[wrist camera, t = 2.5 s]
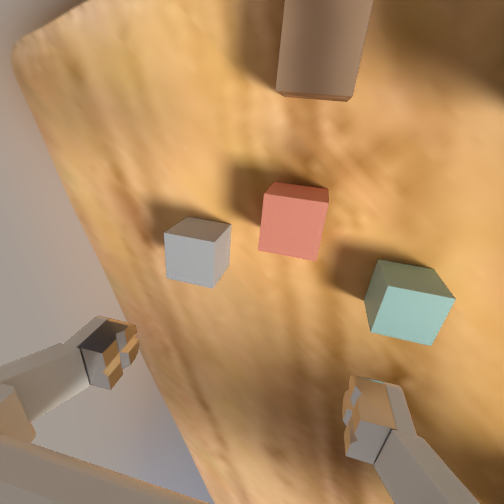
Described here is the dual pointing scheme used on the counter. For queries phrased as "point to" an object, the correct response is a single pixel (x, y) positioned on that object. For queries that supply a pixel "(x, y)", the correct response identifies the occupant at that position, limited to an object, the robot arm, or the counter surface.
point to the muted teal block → (407, 302)
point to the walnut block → (321, 48)
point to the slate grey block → (197, 251)
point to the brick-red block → (293, 220)
